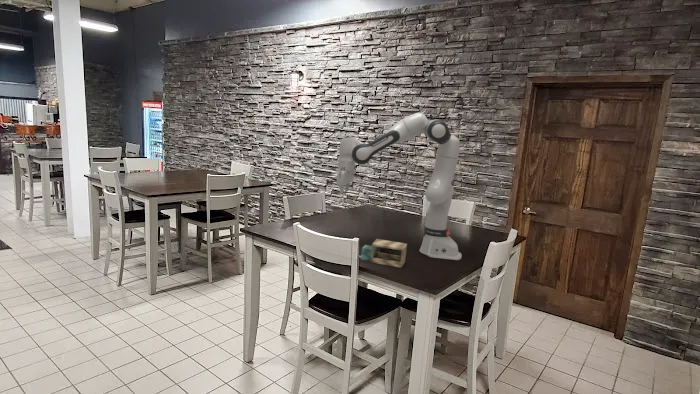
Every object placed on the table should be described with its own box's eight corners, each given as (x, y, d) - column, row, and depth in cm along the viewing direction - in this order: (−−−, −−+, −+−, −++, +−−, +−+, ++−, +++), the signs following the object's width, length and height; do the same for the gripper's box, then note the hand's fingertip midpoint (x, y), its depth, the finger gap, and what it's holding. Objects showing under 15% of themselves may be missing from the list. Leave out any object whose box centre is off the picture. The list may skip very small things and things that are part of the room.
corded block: (375, 258, 199) (376, 246, 198) (372, 261, 194) (373, 249, 193) (340, 251, 205) (341, 240, 204) (336, 254, 199) (337, 243, 198)
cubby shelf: (405, 261, 198) (407, 243, 196) (401, 267, 188) (403, 249, 187) (375, 256, 202) (376, 238, 200) (370, 262, 192) (372, 243, 191)
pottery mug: (371, 255, 205) (373, 240, 207) (380, 260, 212) (382, 245, 214) (391, 255, 198) (393, 239, 201) (400, 260, 205) (401, 244, 208)
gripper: (346, 168, 202) (344, 195, 204) (356, 165, 221) (354, 190, 224) (334, 167, 204) (332, 193, 206) (346, 164, 223) (344, 188, 225)
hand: (344, 191), depth 215 cm, fingers open, 8 cm apart
